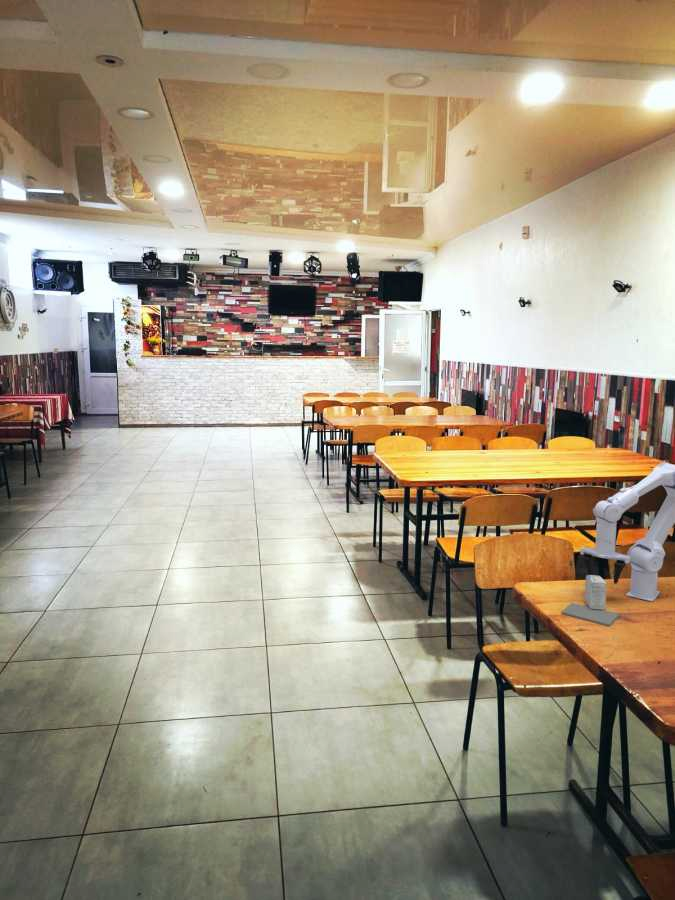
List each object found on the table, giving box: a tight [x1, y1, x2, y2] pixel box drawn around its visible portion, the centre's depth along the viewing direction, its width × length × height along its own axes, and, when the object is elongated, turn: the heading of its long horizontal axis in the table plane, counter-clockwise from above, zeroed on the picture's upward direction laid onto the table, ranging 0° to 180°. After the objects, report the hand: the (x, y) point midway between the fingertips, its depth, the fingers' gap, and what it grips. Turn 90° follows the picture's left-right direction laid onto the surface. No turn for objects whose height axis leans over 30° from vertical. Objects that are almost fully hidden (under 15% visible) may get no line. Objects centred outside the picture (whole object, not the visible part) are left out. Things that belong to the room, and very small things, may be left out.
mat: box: [560, 602, 620, 627], centre depth 180 cm, size 9×14×1 cm, turn 49°
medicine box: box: [583, 574, 608, 611], centre depth 185 cm, size 8×4×9 cm, turn 170°
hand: (603, 579), depth 190 cm, fingers open, 7 cm apart
